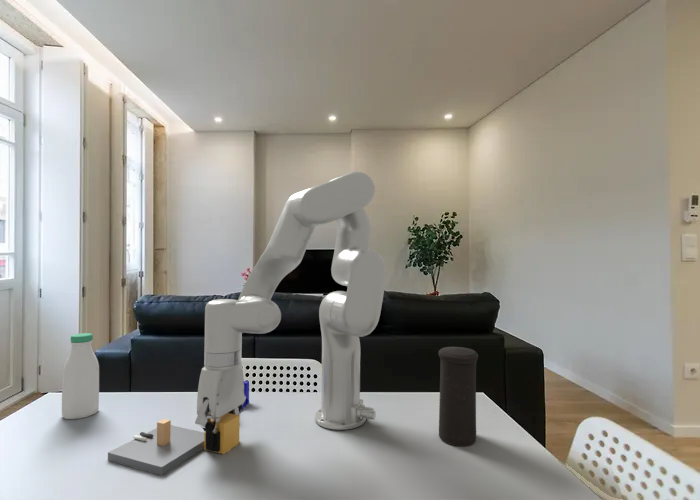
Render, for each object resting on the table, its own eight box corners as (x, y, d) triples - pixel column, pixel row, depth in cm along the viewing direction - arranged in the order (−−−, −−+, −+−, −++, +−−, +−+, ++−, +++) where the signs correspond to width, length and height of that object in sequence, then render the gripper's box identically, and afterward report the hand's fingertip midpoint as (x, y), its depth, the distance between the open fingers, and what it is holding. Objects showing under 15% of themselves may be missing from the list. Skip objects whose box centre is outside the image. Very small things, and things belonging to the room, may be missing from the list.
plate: (214, 441, 85) (214, 413, 85) (161, 475, 72) (162, 442, 72) (163, 430, 90) (163, 404, 90) (106, 459, 77) (106, 429, 77)
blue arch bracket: (233, 402, 108) (233, 380, 108) (248, 403, 107) (249, 381, 107) (210, 420, 96) (211, 395, 96) (227, 421, 95) (227, 397, 95)
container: (480, 433, 90) (480, 346, 90) (474, 451, 82) (475, 355, 82) (442, 426, 93) (442, 342, 94) (433, 442, 85) (434, 350, 86)
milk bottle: (104, 412, 100) (105, 333, 100) (70, 422, 93) (71, 339, 94) (89, 405, 104) (91, 330, 104) (55, 415, 98) (57, 335, 98)
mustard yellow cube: (239, 443, 84) (239, 415, 84) (223, 454, 80) (224, 424, 80) (220, 438, 86) (220, 411, 86) (204, 449, 81) (204, 420, 81)
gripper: (234, 347, 92) (233, 425, 92) (178, 366, 76) (177, 460, 76) (261, 350, 90) (260, 430, 89) (209, 371, 74) (208, 468, 73)
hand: (222, 443), depth 83 cm, fingers closed on mustard yellow cube, 5 cm apart
